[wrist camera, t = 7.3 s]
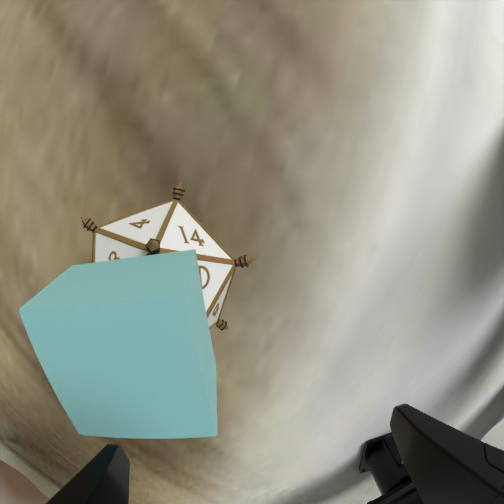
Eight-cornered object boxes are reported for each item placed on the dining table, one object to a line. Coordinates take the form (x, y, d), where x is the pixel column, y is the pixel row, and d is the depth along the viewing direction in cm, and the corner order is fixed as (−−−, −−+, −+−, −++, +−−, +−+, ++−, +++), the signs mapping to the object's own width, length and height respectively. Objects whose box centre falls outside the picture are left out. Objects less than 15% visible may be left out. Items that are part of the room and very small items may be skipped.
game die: (172, 216, 22) (177, 117, 13) (253, 303, 21) (315, 251, 12) (74, 293, 18) (7, 232, 9) (156, 393, 17) (138, 420, 8)
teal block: (216, 364, 12) (217, 436, 8) (106, 371, 12) (79, 434, 8) (195, 249, 11) (183, 295, 7) (72, 265, 10) (18, 309, 7)
